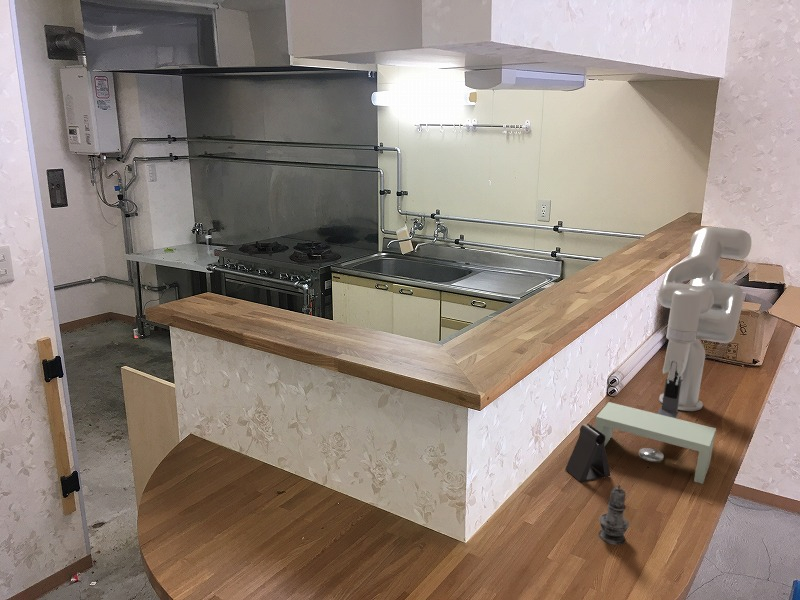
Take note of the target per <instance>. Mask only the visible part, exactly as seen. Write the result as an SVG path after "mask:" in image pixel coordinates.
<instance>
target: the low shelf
mask: <svg viewBox="0 0 800 600" xmlns="http://www.w3.org/2000/svg"><path fill="white" fill-rule="evenodd" d="M594 428H595V429H597V430H598V431H599V432H601V433H602V434H604V435H605V444H604V445H605V447H606V446H607V444H608V443H609V441H610V440H611V439H612V436H613V429H614V430H617V431H620V432H621V431H622V432H625V433H629V434H631V435H632V434H633V435H636V436H639V437H643V438H647V439H651V440H655V441H659V442H662V443H666V444H670V445H673V446H677V447H681V448H684V449H688V450H693V451H696V452H698V456H697V462H696V466H695V473H694V479H693V482H695V483H699V484H701V485H703V484H704V482H705V478H706V476H707V473H708V470H709V467H710V466H711V460H712V454H713V448H714V444H715V443H714V442H715V437H716V432H717V428H716V427H711V426H707V425H703V424H699V423H695V422H692V421H689V420H688V421H687V420H683V419H680V418H672V417H668V416H664V415H660V414H657V412H656V413H655V412H653V411H652V412H651V411H647V410H643V409H639V408H634V407H631V406H626V405H623V404H618V403H614V402H611V401H608V402H607V403H606V404H605V406H604V407H603V408H602V409H601V411H599V413H598V414H597V415H596V417H595V423H594ZM610 438H611V439H610Z"/></svg>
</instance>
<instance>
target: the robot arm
mask: <svg viewBox="0 0 800 600" xmlns="http://www.w3.org/2000/svg"><path fill="white" fill-rule="evenodd" d="M689 245H690V249H689V250H690V251H689V253H688V257H687V258H686V259H683V260H682V261H680V262H678V263H676V264H674V265H673V266H672V267H670V268H669V269H668V270H667V271H666V273H665V274H664V277H663V280H662V282H661V285H660V287H659V291H658V294H657V295H658V297H657V298H658V304H660V306H661V307H664V308H667V309H670V310H669V316H668V322H667V323H668V324H667V327H666V328H667V329H666V335H665V336H666V337H665V338H666V339H667V340H668V343H667V347H666V353H665V358H664V363H663V366H662V367H663V368H662V374H663V375H665V374H667V373H668V375H667V377H668V381H667V384H666V391H665V396H666V397H669V398H673V399H677V395H678V389H679V385H678V382H679V380H682V386H681V393H680V399H679V405H678V410H679V411H683V412H684V411H685V412H696V411H700V410H702V409H703V405H704V404H703V402H702V400H700V399H699V395H700V390H701V383H702V379H703V378H702V377H703V372H704V365H705V360H706V350H705V347H704V345H703V344H702V342H701V340H702V341H703V340H704V341H709V342H715V343H720V344H728V343H731V342H732V341H733V340H734V338H735V336H736V334H737V330H738V325H739V321H740V317H741V314H742V313H741V312H742V308H743V303H744V292H743V289H742V288H741V286H740V285H737V284H735V283H728V282H723V281H722V282H721V280H722V277H723V272H722V269H721V268H720V266H719V264H720V259H721V258H724V259H725V258H726V259H733V260H744V259H746V258H747V257H748V256H749V254H750V252H751V250H752V236H751V234H750V233H748V231H745V230H743V229H739V228H729V227H722V226H721V227H720V226H705V227H703V228H701V229H698V230H696V231H694V232H693V234H692V236H691V238H690V244H689ZM685 281H689V284H688V283H681V282H685ZM663 396H664V392H663V393H660V394H659V398H658V400H659V402H660V403H661V404H662V402H663Z"/></svg>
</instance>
